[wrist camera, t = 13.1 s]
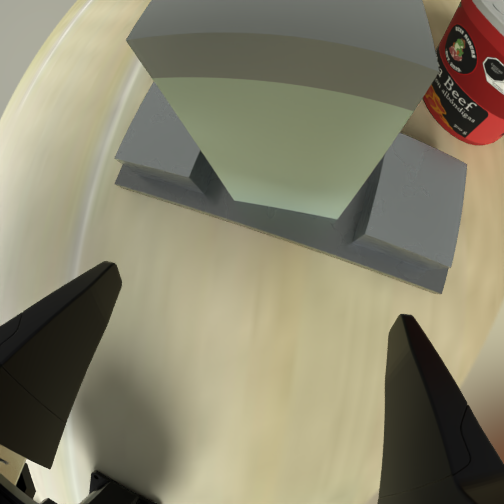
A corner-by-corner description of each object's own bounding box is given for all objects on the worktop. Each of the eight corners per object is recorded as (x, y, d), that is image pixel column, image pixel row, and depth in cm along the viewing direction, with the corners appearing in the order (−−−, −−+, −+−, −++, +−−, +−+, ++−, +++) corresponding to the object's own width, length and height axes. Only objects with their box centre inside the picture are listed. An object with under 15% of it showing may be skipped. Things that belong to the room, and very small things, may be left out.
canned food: (404, 65, 18) (447, -36, 7) (476, 74, 17) (529, -1, 6) (438, 149, 17) (524, 59, 6) (509, 150, 16) (590, 89, 6)
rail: (434, 293, 16) (467, 295, 12) (121, 188, 20) (89, 169, 16) (457, 180, 17) (486, 160, 13) (166, 93, 20) (146, 62, 16)
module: (337, 219, 17) (439, 71, 4) (233, 200, 17) (125, 40, 5) (347, 141, 17) (407, -40, 4) (251, 125, 18) (199, -59, 5)
